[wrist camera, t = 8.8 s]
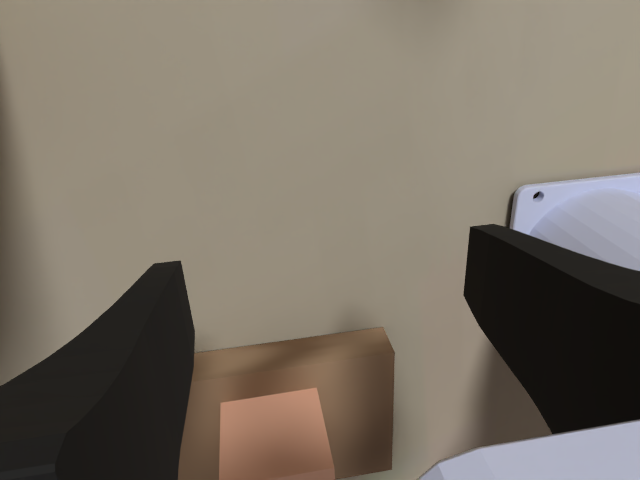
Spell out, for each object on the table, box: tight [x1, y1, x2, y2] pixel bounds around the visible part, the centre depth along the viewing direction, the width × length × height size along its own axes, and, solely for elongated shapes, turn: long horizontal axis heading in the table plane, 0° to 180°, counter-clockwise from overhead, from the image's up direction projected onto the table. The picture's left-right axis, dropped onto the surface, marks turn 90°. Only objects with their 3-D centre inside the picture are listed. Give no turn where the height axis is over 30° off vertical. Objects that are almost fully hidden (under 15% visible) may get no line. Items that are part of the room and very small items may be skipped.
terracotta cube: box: [219, 388, 335, 480], centre depth 22 cm, size 4×4×4 cm
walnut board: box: [178, 327, 395, 480], centre depth 25 cm, size 12×8×2 cm, turn 93°
